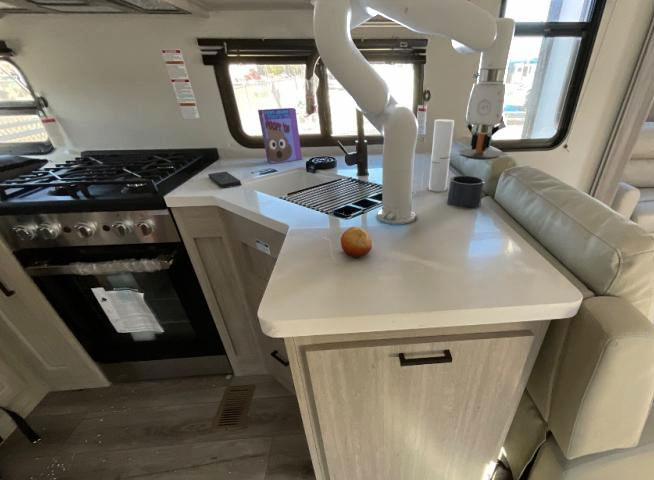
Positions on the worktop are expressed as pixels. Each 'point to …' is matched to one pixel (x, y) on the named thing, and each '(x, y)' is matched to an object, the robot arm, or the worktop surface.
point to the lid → (479, 150)
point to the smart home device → (224, 179)
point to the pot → (465, 191)
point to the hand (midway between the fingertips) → (479, 149)
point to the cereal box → (280, 135)
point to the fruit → (356, 242)
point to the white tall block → (440, 154)
